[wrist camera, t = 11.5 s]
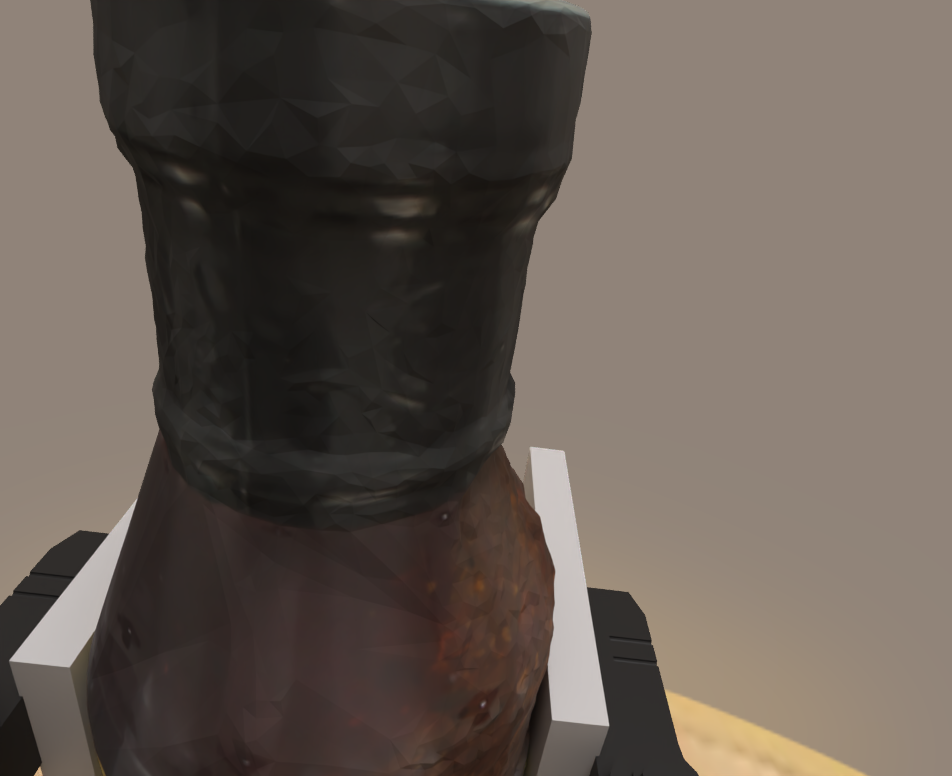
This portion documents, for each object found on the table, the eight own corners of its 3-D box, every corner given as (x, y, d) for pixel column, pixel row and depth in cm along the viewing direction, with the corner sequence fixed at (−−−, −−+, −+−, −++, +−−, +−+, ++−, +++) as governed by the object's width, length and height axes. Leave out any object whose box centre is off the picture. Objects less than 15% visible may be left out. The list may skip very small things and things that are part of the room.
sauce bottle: (245, 814, 18) (193, -39, 9) (470, 853, 18) (655, 28, 9) (104, 1176, 12) (-467, -203, 3) (436, 1237, 12) (877, -16, 3)
